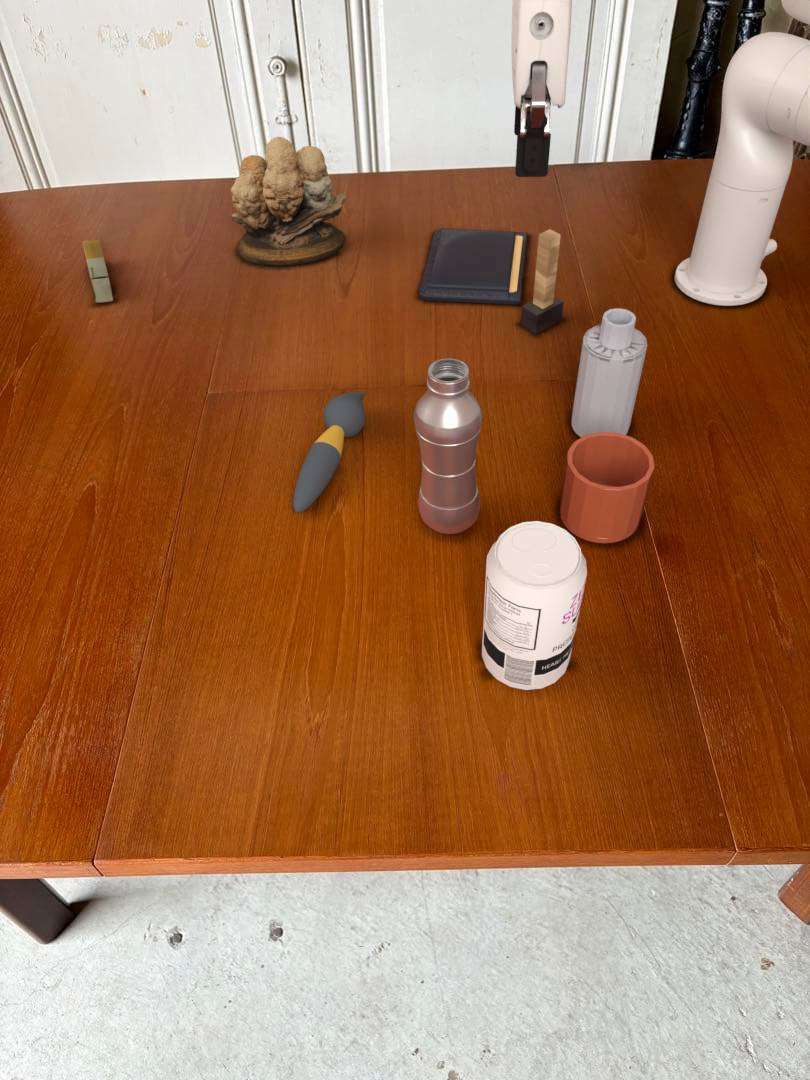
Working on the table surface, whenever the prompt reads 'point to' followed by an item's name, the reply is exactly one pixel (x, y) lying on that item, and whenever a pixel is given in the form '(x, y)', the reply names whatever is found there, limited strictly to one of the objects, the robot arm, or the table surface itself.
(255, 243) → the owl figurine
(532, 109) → the robot arm
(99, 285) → the medication box
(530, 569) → the supplement can
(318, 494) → the paintbrush
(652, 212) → the table surface
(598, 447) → the holder
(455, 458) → the silver aluminum bottle
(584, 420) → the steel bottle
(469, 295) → the wallet
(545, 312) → the brush
